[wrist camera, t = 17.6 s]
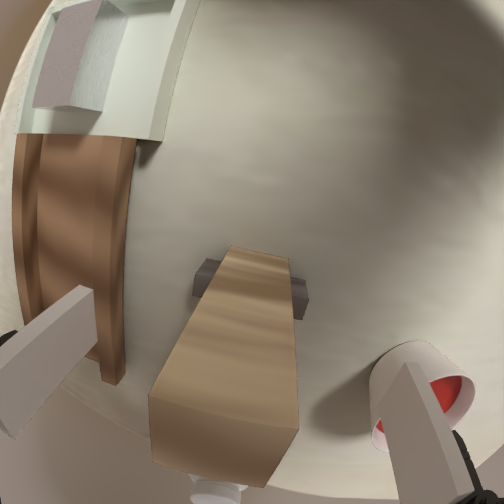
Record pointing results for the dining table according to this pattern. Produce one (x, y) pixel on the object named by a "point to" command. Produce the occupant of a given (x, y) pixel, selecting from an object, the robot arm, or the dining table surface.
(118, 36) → the grey cube
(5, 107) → the dining table surface
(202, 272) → the tapered wooden board
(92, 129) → the tray
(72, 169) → the slot board
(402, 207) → the dining table surface
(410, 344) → the white round cup
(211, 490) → the pill bottle
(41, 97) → the pinkish grey cube
